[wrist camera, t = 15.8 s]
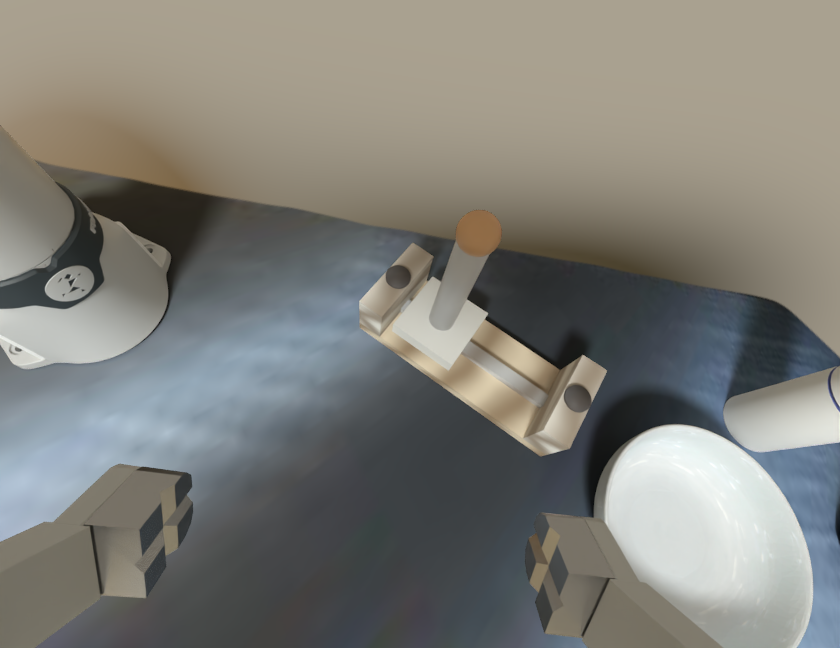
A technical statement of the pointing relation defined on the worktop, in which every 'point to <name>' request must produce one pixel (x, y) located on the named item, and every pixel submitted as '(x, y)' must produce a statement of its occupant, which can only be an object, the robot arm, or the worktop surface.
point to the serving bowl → (709, 535)
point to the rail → (488, 366)
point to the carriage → (452, 294)
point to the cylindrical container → (787, 413)
